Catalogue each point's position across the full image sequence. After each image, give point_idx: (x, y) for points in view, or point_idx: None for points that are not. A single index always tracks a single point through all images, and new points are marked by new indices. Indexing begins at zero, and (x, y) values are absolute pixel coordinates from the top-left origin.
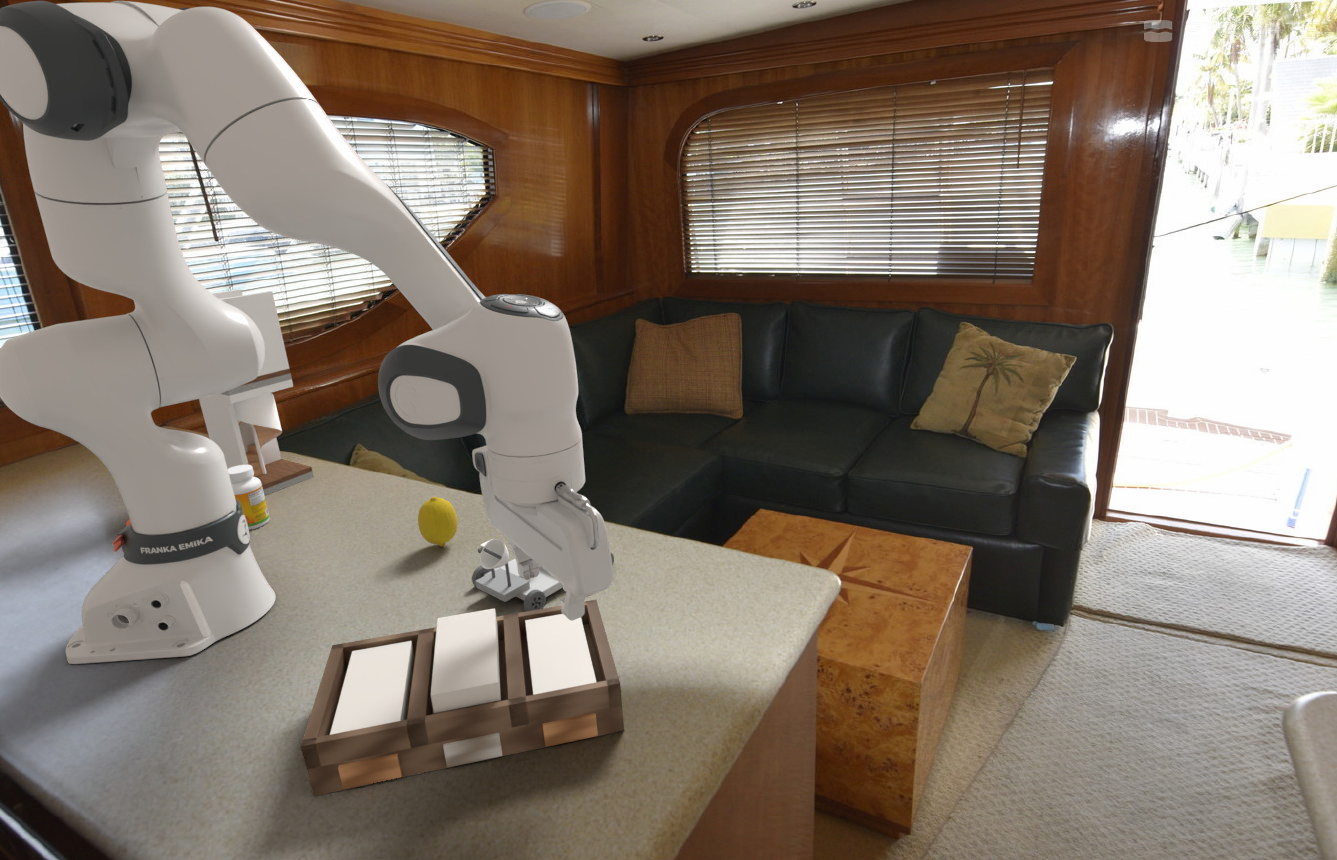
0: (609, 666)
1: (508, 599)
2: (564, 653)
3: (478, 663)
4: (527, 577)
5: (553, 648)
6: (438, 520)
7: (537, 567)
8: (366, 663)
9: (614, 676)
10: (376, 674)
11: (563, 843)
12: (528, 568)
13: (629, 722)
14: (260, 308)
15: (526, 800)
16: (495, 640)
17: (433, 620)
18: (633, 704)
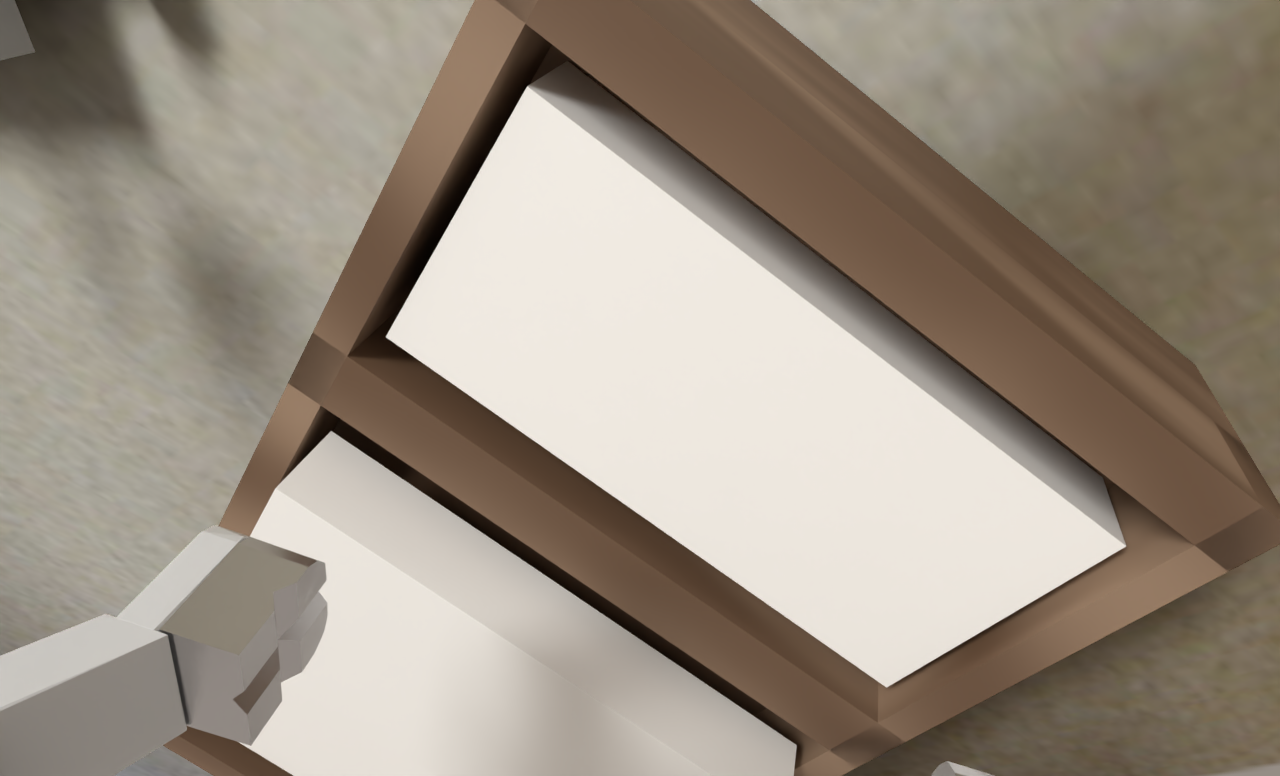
0: (1143, 456)
1: (21, 28)
2: (790, 445)
3: (617, 772)
4: (313, 631)
5: (707, 440)
6: None
7: (273, 607)
8: (267, 728)
9: (1228, 508)
10: (341, 751)
11: (1248, 757)
12: (271, 689)
13: (1190, 314)
14: None
15: (1032, 695)
16: (528, 656)
17: (4, 264)
18: (1143, 211)
